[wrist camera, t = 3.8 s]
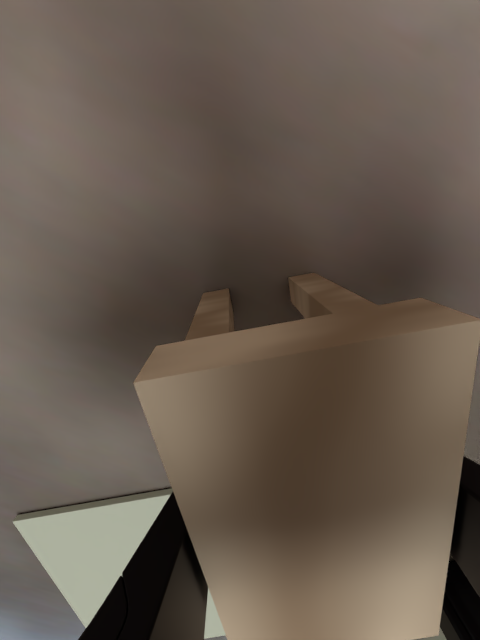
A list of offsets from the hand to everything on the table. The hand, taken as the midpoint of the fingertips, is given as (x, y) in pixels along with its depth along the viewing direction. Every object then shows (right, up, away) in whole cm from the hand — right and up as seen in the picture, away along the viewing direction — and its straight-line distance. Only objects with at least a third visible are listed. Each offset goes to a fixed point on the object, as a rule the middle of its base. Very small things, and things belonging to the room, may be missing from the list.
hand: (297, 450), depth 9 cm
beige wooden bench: (0, +2, +5) cm, 5 cm away
